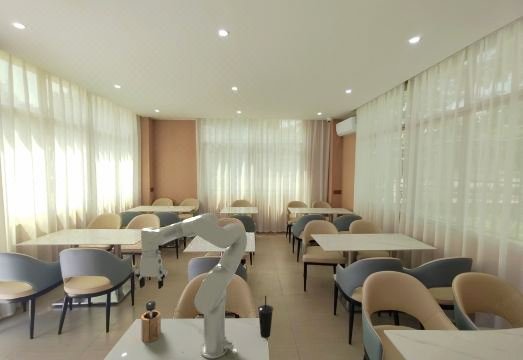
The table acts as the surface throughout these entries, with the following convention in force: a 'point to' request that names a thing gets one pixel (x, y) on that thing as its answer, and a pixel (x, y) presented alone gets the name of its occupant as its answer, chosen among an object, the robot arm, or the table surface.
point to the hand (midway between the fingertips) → (151, 287)
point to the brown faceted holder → (150, 326)
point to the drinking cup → (265, 319)
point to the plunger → (150, 307)
